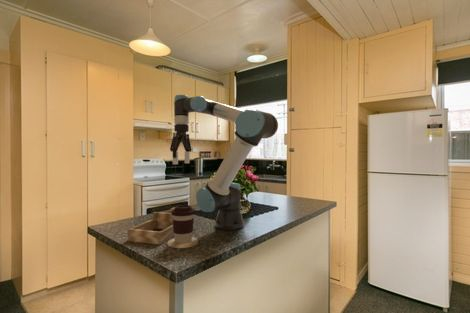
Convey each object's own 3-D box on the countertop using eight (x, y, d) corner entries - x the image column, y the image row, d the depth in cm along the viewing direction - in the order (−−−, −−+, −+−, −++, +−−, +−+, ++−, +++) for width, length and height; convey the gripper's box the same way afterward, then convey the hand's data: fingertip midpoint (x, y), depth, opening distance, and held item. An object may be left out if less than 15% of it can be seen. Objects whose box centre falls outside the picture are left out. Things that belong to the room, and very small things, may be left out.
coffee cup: (198, 242, 110) (198, 207, 109) (176, 246, 104) (176, 209, 104) (189, 235, 118) (189, 203, 118) (168, 240, 112) (168, 205, 112)
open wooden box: (183, 230, 129) (183, 214, 128) (161, 244, 108) (161, 225, 108) (155, 227, 133) (154, 212, 133) (127, 240, 113) (127, 222, 113)
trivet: (202, 239, 115) (202, 237, 115) (190, 249, 103) (190, 248, 103) (176, 236, 119) (176, 235, 119) (161, 246, 106) (161, 244, 106)
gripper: (185, 126, 152) (185, 162, 152) (162, 121, 128) (162, 164, 128) (197, 126, 150) (197, 162, 150) (176, 121, 126) (176, 164, 126)
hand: (181, 163), depth 139 cm, fingers open, 13 cm apart
